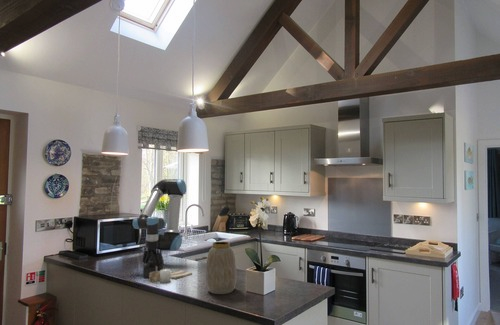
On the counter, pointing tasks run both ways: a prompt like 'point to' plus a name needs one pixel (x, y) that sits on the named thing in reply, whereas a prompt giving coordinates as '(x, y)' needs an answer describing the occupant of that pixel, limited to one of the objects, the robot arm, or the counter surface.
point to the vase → (221, 269)
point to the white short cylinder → (165, 275)
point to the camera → (150, 268)
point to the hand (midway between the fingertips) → (152, 274)
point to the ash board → (179, 274)
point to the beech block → (154, 276)
